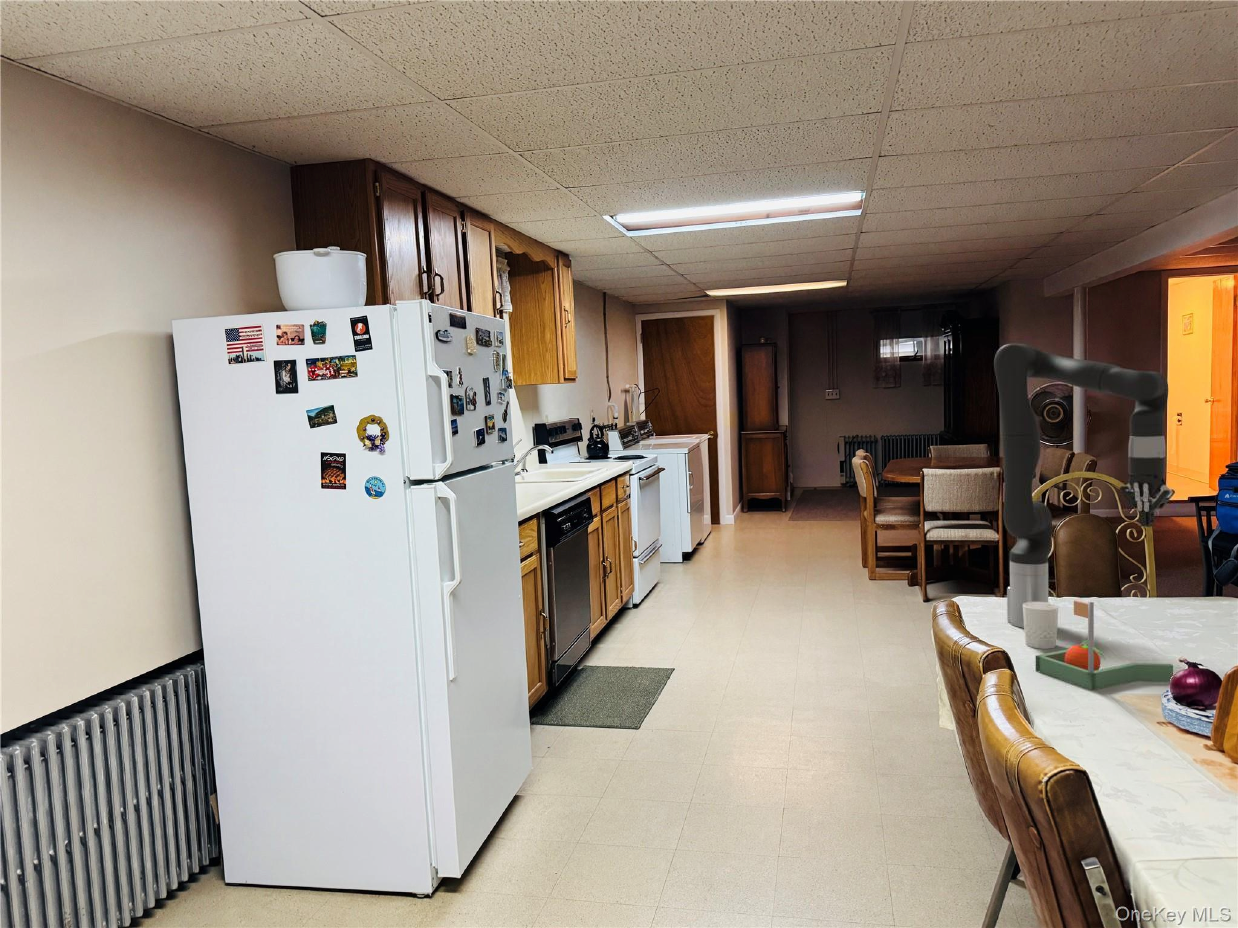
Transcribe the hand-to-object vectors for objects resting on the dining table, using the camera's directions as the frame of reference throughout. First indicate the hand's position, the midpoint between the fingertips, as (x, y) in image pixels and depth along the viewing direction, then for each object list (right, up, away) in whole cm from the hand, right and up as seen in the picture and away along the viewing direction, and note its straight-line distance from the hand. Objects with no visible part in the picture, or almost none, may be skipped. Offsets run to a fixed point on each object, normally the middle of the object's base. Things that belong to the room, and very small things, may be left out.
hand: (1146, 526), depth 203 cm
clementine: (-25, -32, -19) cm, 45 cm away
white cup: (-23, -30, +5) cm, 38 cm away
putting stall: (-22, -31, -17) cm, 42 cm away
